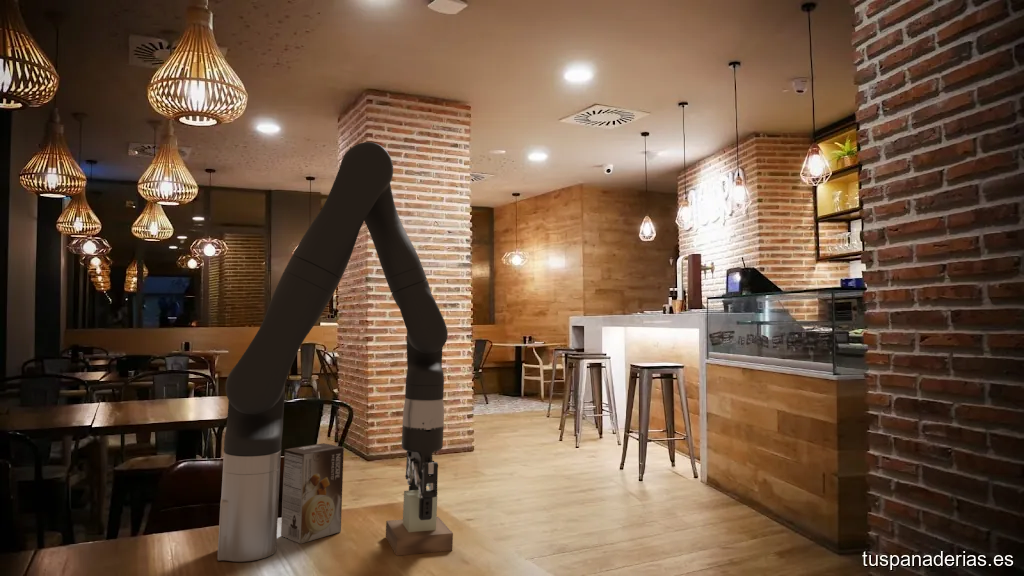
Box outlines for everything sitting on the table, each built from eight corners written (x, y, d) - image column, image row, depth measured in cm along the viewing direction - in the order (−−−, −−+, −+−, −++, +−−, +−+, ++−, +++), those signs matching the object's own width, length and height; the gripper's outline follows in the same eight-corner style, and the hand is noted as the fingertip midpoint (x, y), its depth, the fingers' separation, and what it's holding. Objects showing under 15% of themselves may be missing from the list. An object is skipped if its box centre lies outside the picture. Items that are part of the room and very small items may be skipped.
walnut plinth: (396, 555, 115) (397, 537, 115) (385, 537, 125) (386, 520, 125) (452, 550, 119) (453, 533, 119) (437, 532, 128) (438, 516, 128)
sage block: (408, 532, 119) (410, 498, 119) (402, 523, 123) (404, 490, 124) (436, 529, 120) (437, 496, 121) (429, 521, 125) (430, 489, 125)
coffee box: (320, 525, 130) (324, 442, 131) (341, 532, 126) (345, 447, 127) (279, 536, 123) (283, 448, 123) (300, 544, 119) (304, 453, 120)
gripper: (395, 417, 128) (391, 503, 127) (411, 430, 115) (407, 526, 114) (433, 416, 131) (429, 500, 130) (453, 429, 117) (450, 522, 117)
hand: (419, 512), depth 122 cm, fingers open, 8 cm apart
